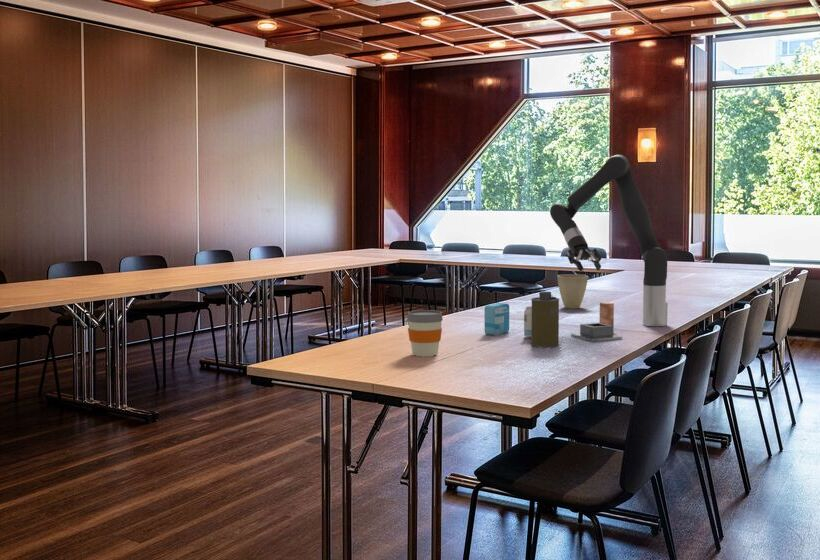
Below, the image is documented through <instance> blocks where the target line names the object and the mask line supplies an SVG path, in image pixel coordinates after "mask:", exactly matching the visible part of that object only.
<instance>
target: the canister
mask: <svg viewBox="0 0 820 560" xmlns="http://www.w3.org/2000/svg"><path fill="white" fill-rule="evenodd" d="M538 294H539V296H538V297H532V298H530V300H531V307H532V339H531V343H530V345H531V346H532V347H536V348H537V347H538V348H556V347H558V346H560V341H559V338H560V335H559V333H560V332H559V329H560V325H559V324H560V323H559V322H560V319H559V318H560V317H559V316H560V298H559V297H556V296H553V295H552V292H551V291H540V292H538Z"/></svg>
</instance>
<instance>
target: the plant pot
mask: <svg viewBox="0 0 820 560" xmlns="http://www.w3.org/2000/svg"><path fill="white" fill-rule="evenodd" d="M588 278H589V276H588V275H586V274H572V273H571V274H558V275H557V284H558V290H559V295H560V297H561V302H562V304H563V306H564V308H565V309H570V308H571V310H572V309H580V307H581V305H582V303H583V300H584V297H585V293H586V289H587V285H588Z"/></svg>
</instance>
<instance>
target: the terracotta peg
mask: <svg viewBox="0 0 820 560" xmlns="http://www.w3.org/2000/svg"><path fill="white" fill-rule="evenodd" d="M614 311H615V303H614V302H610V301H609V302H607V301H606V302H604V301H603V302H599V323H603V324H607V325H611V326H613V334H614V333H615V332H614V329H615V328H614V327H615V326H614V325H615V324H614V323H615V321H614V318H615V316H614V315H615V314H614V313H615V312H614Z"/></svg>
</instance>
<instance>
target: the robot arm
mask: <svg viewBox="0 0 820 560" xmlns="http://www.w3.org/2000/svg"><path fill="white" fill-rule="evenodd" d="M612 181H614V182H615V183H616V186H617V188H618V190H619V196H620V201H621V206H622V210H623V213H624V215H625V218H626V220H627V222H628V225H629V226H630V228H631V231H632V232H633V234H634V236H635V239H636V240H637V242H638V245H639V246H638V247H639V248H640V253H641V255H642V260H643V263H644V272H643V273H644V274H643V289H642V290H643V291H642V292H643V293H642V294H643V295H642V325H643V326H645V327H664V326H667V325H668V302H666V300H667V296H666V294H667V291H666V290H667V279H668V255H667V253H666V251H665V250H664V249H662V247H661V245H660V244H659V242H658V240H657V238H656V235H655V233H654V229H653V223H652V221H651V220H652V219H651V216H650V213H649V211H648V208H647V205H646V202H645V201H644V199H643V197H642V194H641V192H640V190H639V188H638V186H637V184H636V181H635V179H634V175H633V172H632V168H631V164H630V162H629V159H628V158H627V157H626V156H625V155H623V154H615V155H612V156H609V158H607V160H606V162H604V164H603V165H602V166H601V167H600V169H598V170H597V172H596V173H595V174H594V175H592V177H591V178H589V179H588V180H587V181H586V182H584V183H583V184H581V186H579V187H578V188H577V189H575V190H574V191H573V192H572V193H571V194H570V195H568V196H567V202H568V204H567V205H564V204H562V203H560V202H557V203H554V204H552V206H550V209H549V213H550V217H551V219H552V220H553V222H554V223H555V224H556V226H557V227H558V228H559V229H560V231H561V234H562V235H563V237H564V240H565V243H566V244H567V246H568V248H569V249H568V251H567V252H566V253H565V254H566V257H567V259H568V262H569V263H570V264H571V265H573V264H574V266H576V268H577V270H579V272H583V270H584V267H583V265H582V262H581V261H588V262H591V263H592V264H593V266H594V267H595V269H596V271H600V270H601V268H602V265H601V260H602V257H601V255H600V253H599V252H598V250H597V248H593V249H592V250H591V249H590V248H589V245H588V242H587V240H586V239H585V237H584V235H583V233H582V231H581V230H580V229H579V227H578V225H577V223H576V221H574V220H573V218H574V217H575V215H576V214H578V212H579V211H580V210H579V209H580V208H581V207H583V206H584V205H585V204H587V203H588V202H589V201H590V200H591V199H592V198H594V196H595V195H596V194H597V193H598V192H599V191H600V190H602V188H604V187H605V186H606V185H607V184H609V183H610V182H612Z"/></svg>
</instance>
